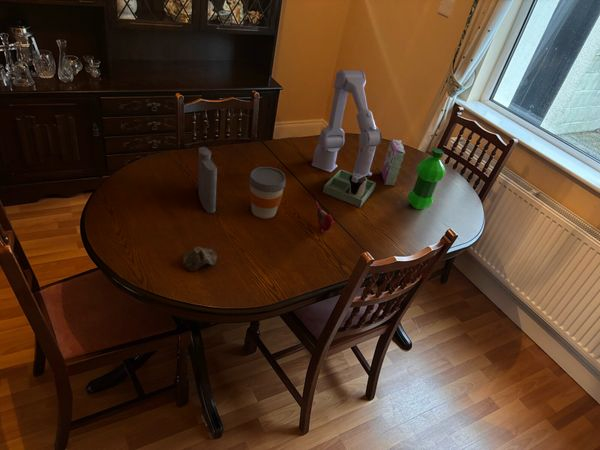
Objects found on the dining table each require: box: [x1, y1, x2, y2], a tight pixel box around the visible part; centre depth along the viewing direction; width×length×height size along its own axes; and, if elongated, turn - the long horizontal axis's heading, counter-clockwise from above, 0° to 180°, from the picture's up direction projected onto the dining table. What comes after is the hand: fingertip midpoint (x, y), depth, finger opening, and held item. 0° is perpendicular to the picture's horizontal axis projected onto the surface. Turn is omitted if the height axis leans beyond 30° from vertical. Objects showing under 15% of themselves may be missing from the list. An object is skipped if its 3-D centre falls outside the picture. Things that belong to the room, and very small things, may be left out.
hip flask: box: [197, 146, 218, 214], centre depth 155 cm, size 16×4×20 cm, turn 23°
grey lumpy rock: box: [182, 245, 218, 272], centre depth 133 cm, size 8×7×10 cm
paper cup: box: [348, 177, 368, 199], centre depth 174 cm, size 6×6×8 cm
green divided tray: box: [322, 168, 377, 208], centre depth 180 cm, size 16×16×4 cm
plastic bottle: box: [407, 147, 446, 210], centre depth 173 cm, size 10×10×25 cm
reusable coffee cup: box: [248, 166, 286, 219], centre depth 157 cm, size 13×13×15 cm
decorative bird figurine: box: [315, 199, 334, 235], centre depth 156 cm, size 3×18×10 cm, turn 15°
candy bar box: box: [381, 138, 406, 187], centre depth 189 cm, size 11×5×16 cm, turn 179°
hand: (356, 190), depth 175 cm, fingers closed on paper cup, 6 cm apart
